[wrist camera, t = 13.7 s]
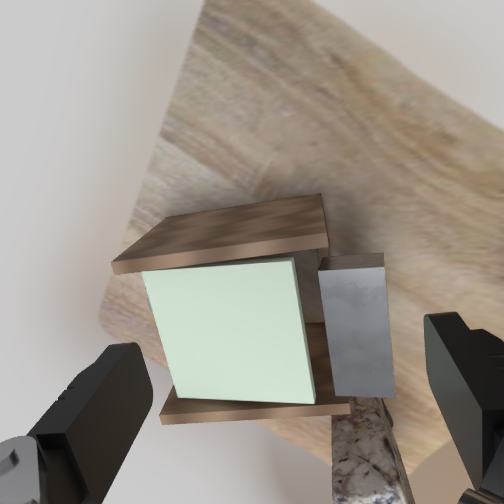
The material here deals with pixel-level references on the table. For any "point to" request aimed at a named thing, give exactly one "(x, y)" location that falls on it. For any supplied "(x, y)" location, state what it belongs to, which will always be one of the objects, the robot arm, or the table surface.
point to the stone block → (367, 456)
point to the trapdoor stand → (236, 247)
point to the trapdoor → (272, 328)
